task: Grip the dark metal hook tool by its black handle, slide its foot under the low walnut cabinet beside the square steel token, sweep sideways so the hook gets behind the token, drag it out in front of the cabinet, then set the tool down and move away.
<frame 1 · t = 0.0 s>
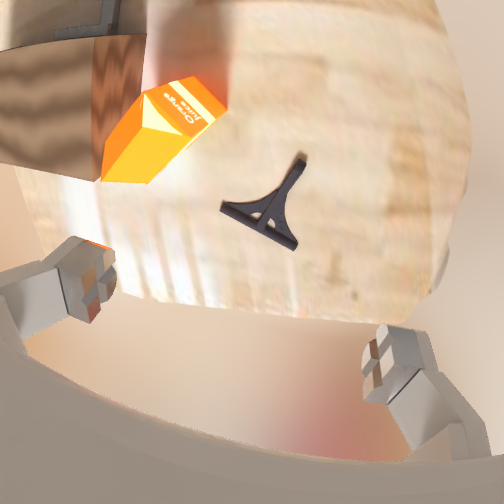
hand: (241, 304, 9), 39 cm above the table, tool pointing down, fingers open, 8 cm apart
low cabinet: (68, 89, 43), on the table
orange juice: (191, 111, 44), on the table
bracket: (279, 195, 50), on the table
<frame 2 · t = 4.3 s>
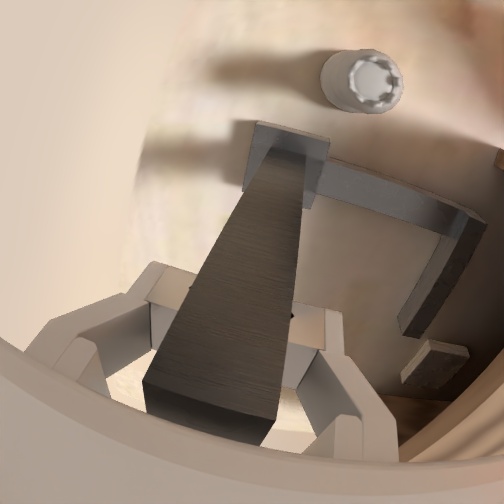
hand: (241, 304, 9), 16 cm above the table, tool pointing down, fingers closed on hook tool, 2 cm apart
low cabinet: (491, 322, 26), on the table
steel token: (433, 357, 30), on the table
rook chess piece: (351, 81, 18), on the table
hook tool: (286, 161, 22), on the table, touching gripper
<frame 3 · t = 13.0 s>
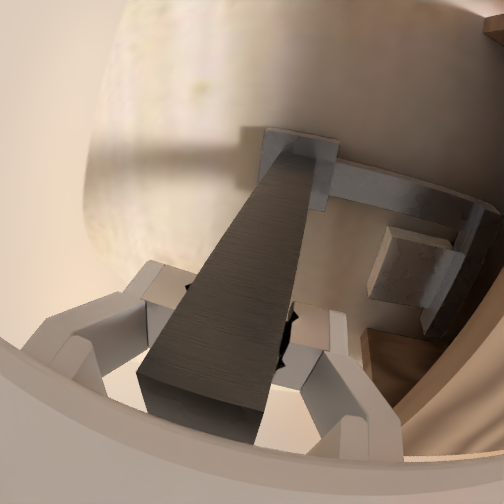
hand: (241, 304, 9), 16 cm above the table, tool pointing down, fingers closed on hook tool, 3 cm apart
steel token: (407, 262, 25), on the table
hook tool: (298, 165, 22), on the table, touching gripper
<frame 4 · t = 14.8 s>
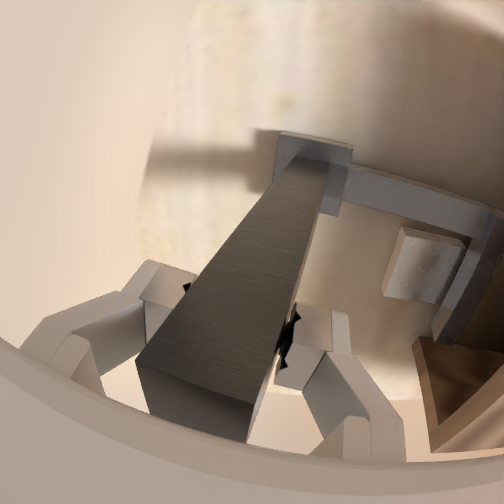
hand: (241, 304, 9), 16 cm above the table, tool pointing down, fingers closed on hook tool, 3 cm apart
steel token: (419, 260, 25), on the table
hook tool: (312, 170, 22), on the table, tilted 7°, touching gripper
when the fingers open (16 cm above the table, at t = 16.3 s): hook tool stays where it is, on the table.
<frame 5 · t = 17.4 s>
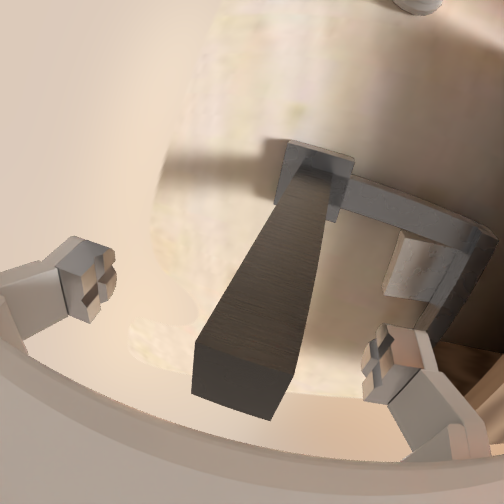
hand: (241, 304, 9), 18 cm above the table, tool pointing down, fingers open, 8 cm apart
steel token: (418, 261, 26), on the table
hook tool: (314, 177, 24), on the table, tilted 5°
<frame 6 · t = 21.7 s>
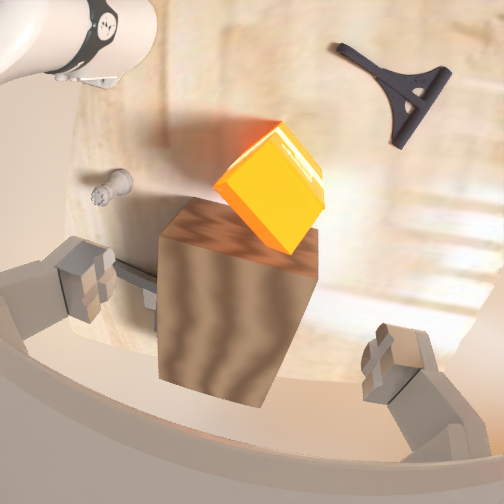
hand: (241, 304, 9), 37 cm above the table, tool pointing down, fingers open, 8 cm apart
low cabinet: (237, 291, 57), on the table
steel token: (160, 293, 62), on the table
rook chess piece: (124, 180, 49), on the table
orange juice: (281, 160, 43), on the table
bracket: (384, 77, 35), on the table
hook tool: (104, 259, 59), on the table
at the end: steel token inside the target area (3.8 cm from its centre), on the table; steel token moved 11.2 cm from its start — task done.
